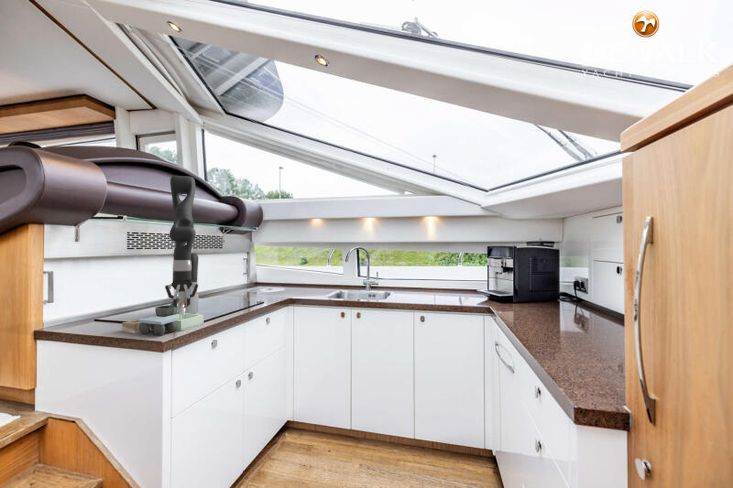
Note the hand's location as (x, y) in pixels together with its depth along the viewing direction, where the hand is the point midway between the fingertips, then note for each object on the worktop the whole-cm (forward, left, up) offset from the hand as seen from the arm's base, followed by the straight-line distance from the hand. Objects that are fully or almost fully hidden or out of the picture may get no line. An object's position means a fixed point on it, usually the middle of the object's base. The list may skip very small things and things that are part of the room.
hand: (181, 306), depth 151 cm
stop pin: (0, 0, -8) cm, 8 cm away
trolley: (+12, 0, -9) cm, 15 cm away
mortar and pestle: (-7, -15, -9) cm, 19 cm away
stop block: (+12, -12, -9) cm, 20 cm away
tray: (0, 0, -9) cm, 9 cm away
